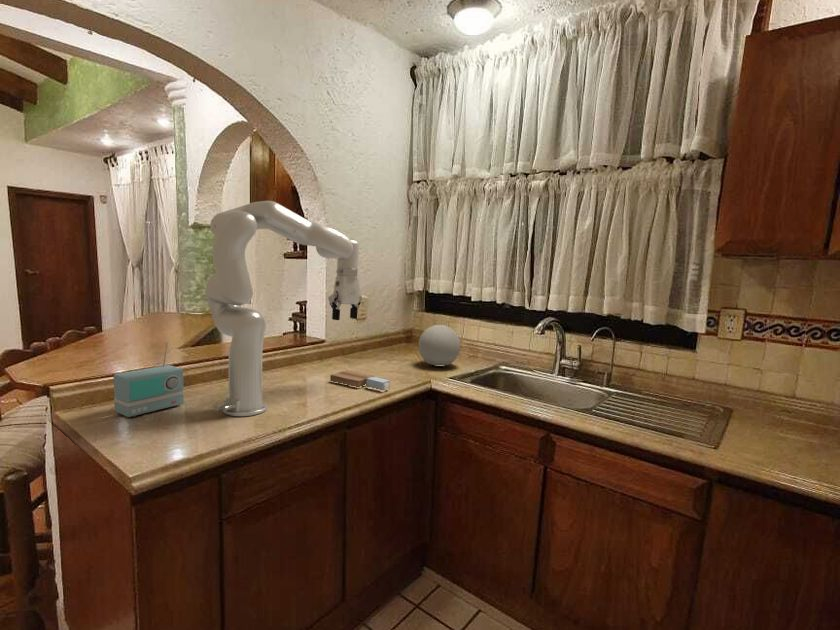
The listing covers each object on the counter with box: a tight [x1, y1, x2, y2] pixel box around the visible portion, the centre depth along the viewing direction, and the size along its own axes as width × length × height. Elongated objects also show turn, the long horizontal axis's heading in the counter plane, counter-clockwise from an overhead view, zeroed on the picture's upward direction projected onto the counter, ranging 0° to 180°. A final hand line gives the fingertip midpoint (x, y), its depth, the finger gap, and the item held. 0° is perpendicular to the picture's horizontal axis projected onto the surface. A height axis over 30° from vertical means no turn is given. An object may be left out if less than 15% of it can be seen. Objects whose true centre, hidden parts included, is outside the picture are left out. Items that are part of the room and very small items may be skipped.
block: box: [365, 376, 391, 390], centre depth 160 cm, size 4×4×8 cm
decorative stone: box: [418, 324, 461, 366], centre depth 202 cm, size 20×20×20 cm
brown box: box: [329, 369, 376, 387], centre depth 167 cm, size 10×14×3 cm
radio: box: [113, 340, 184, 418], centre depth 126 cm, size 16×9×20 cm, turn 149°
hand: (344, 319), depth 159 cm, fingers open, 9 cm apart
